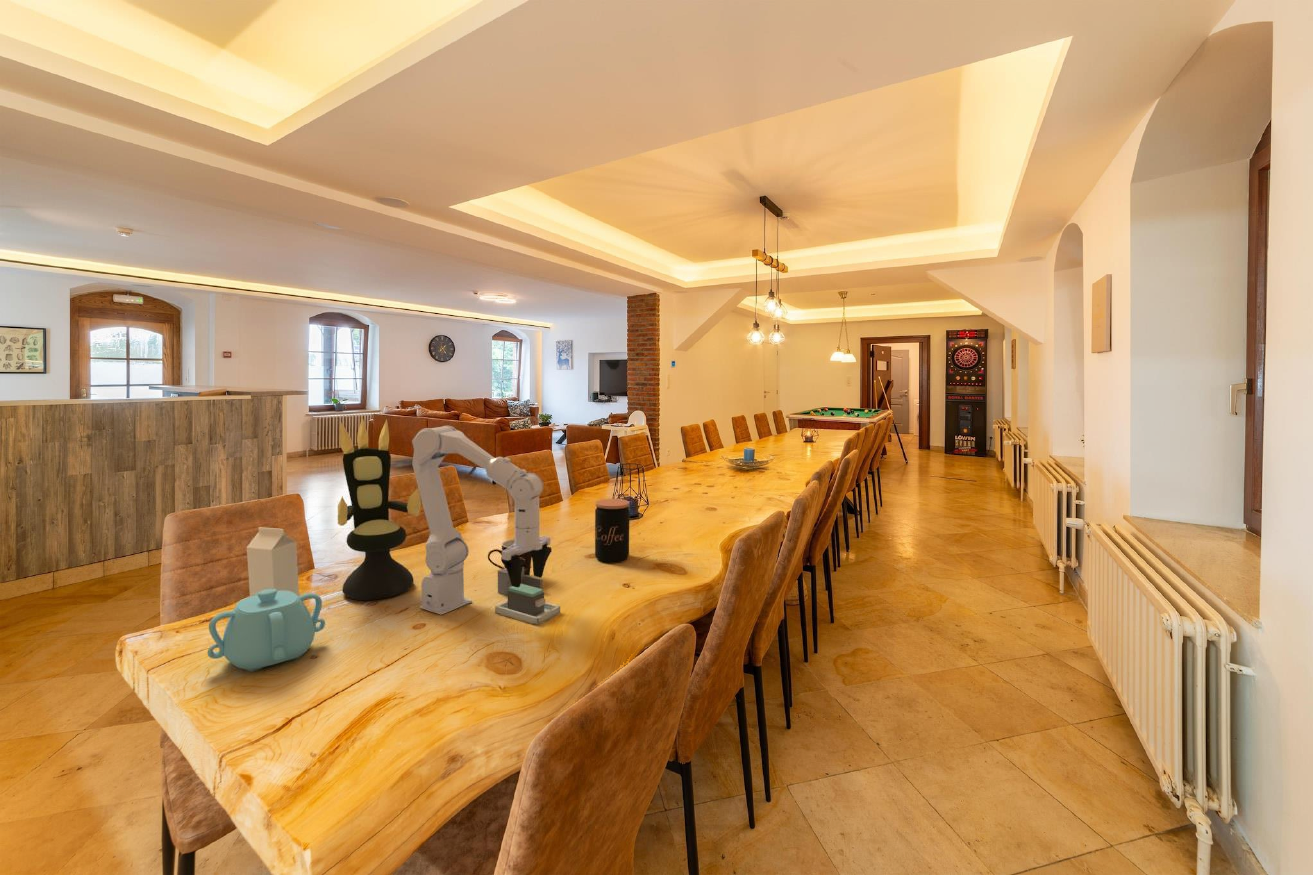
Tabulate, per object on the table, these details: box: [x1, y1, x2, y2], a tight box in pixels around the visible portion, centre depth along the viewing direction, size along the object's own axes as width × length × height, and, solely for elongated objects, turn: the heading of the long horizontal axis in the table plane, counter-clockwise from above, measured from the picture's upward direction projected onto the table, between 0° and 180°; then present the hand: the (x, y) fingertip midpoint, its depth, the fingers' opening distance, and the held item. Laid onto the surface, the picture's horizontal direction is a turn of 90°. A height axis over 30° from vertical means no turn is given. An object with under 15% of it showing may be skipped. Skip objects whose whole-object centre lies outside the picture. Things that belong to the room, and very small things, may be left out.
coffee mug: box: [487, 538, 532, 576], centre depth 157 cm, size 12×9×10 cm
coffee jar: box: [594, 498, 630, 564], centre depth 175 cm, size 11×11×18 cm
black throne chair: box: [337, 417, 422, 601], centre depth 146 cm, size 19×22×45 cm
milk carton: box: [246, 526, 300, 597], centre depth 136 cm, size 7×7×19 cm
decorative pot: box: [207, 589, 326, 672], centre depth 111 cm, size 16×16×14 cm
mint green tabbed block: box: [507, 584, 546, 616], centre depth 134 cm, size 4×9×6 cm, turn 60°
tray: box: [494, 600, 561, 626], centre depth 134 cm, size 8×13×2 cm, turn 60°
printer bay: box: [497, 567, 543, 597], centre depth 147 cm, size 7×9×6 cm
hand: (527, 581), depth 134 cm, fingers open, 7 cm apart
